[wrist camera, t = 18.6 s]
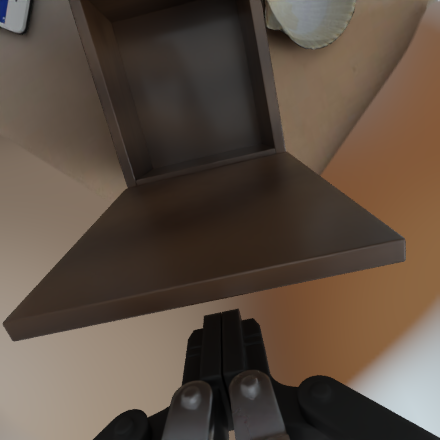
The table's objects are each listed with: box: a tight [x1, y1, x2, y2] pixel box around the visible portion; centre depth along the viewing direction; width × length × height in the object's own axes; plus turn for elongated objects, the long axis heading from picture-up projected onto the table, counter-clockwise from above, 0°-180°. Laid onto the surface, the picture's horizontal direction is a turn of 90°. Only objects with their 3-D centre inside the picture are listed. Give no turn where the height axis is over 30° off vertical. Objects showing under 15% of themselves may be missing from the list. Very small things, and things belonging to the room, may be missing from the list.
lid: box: [3, 152, 406, 341], centre depth 17 cm, size 15×13×1 cm
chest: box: [69, 0, 286, 188], centre depth 26 cm, size 15×13×8 cm
